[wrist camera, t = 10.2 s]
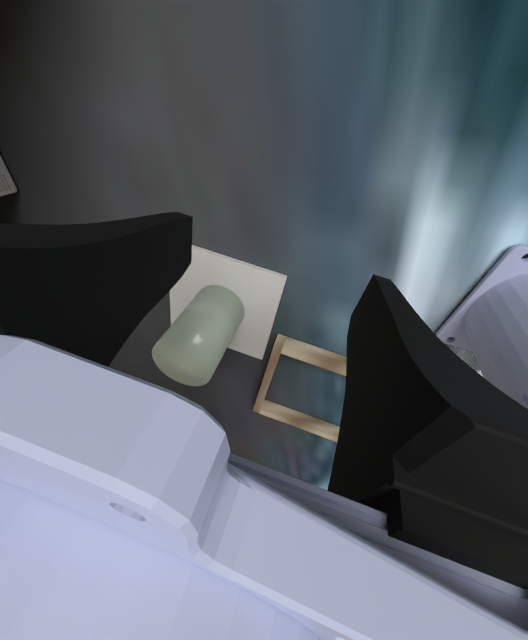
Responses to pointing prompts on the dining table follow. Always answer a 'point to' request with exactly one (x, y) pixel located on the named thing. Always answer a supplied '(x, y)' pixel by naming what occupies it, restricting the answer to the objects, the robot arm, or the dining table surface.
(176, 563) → the robot arm
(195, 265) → the mat
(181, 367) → the pale green capsule
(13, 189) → the coffee box
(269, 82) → the dining table surface
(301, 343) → the holder
